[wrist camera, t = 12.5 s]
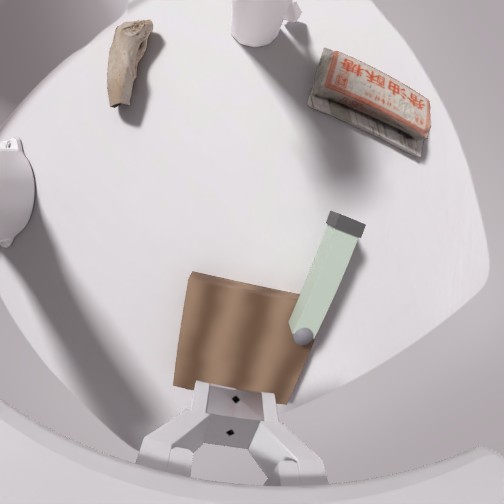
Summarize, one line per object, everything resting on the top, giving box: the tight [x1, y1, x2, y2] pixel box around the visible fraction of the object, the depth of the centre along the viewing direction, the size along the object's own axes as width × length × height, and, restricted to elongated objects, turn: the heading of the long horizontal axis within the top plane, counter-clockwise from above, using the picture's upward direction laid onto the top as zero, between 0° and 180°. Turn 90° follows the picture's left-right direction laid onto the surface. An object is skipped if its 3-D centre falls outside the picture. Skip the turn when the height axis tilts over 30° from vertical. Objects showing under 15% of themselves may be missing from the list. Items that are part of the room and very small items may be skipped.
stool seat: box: [173, 271, 316, 405], centre depth 38 cm, size 18×18×3 cm
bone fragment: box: [107, 20, 153, 108], centre depth 27 cm, size 14×6×5 cm, turn 173°
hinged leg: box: [289, 211, 366, 345], centre depth 33 cm, size 16×3×3 cm, turn 161°
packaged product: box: [307, 48, 431, 157], centre depth 30 cm, size 18×5×10 cm
